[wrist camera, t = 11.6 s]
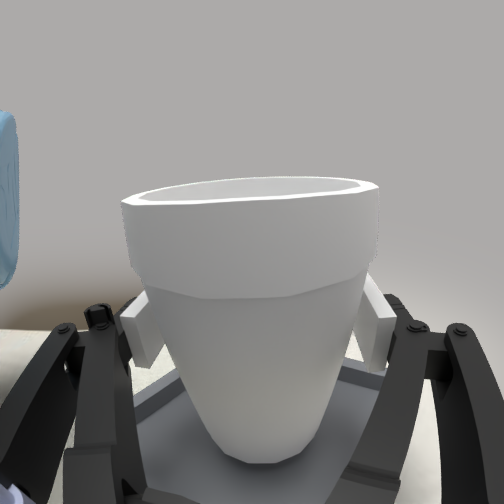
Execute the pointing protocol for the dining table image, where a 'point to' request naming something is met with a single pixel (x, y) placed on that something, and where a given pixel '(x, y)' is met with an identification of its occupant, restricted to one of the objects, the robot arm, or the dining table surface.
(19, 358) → the dining table surface
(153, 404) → the serving tray
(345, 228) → the foam cup
